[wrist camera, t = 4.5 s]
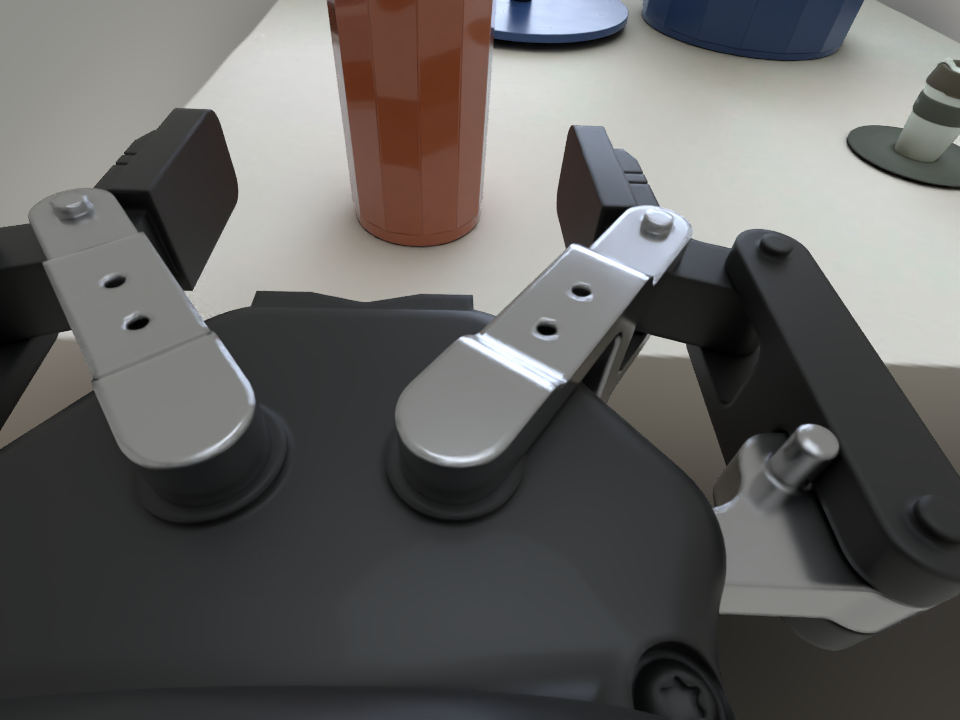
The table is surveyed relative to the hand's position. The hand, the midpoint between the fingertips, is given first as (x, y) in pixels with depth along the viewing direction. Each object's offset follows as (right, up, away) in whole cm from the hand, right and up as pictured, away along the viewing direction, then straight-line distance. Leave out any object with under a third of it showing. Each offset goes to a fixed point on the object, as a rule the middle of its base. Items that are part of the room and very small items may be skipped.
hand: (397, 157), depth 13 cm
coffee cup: (+28, +8, +20) cm, 36 cm away
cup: (-1, +2, +12) cm, 13 cm away
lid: (+5, +26, +34) cm, 44 cm away
